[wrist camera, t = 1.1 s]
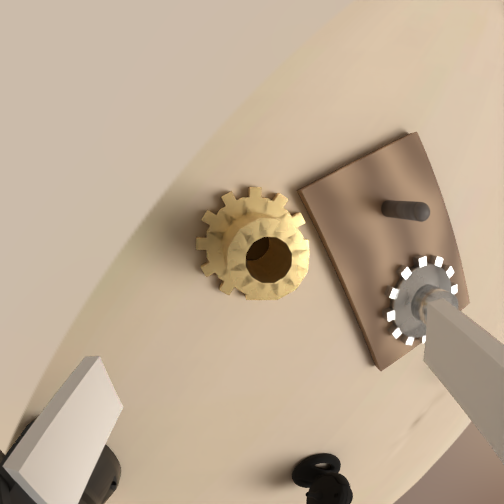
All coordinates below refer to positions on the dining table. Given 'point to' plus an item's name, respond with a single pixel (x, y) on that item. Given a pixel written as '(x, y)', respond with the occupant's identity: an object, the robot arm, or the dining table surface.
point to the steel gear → (417, 297)
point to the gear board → (383, 232)
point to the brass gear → (241, 238)
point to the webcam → (323, 481)
